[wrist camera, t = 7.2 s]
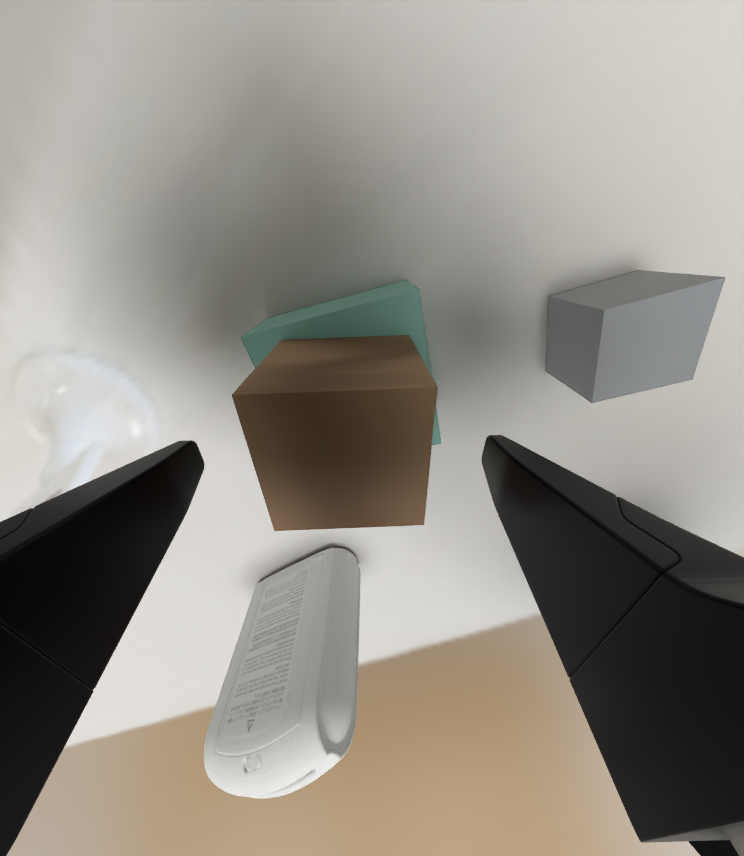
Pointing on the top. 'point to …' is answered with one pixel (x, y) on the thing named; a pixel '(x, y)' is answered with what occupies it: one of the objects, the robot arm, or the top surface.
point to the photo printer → (290, 681)
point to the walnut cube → (340, 431)
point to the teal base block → (348, 323)
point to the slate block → (629, 332)
